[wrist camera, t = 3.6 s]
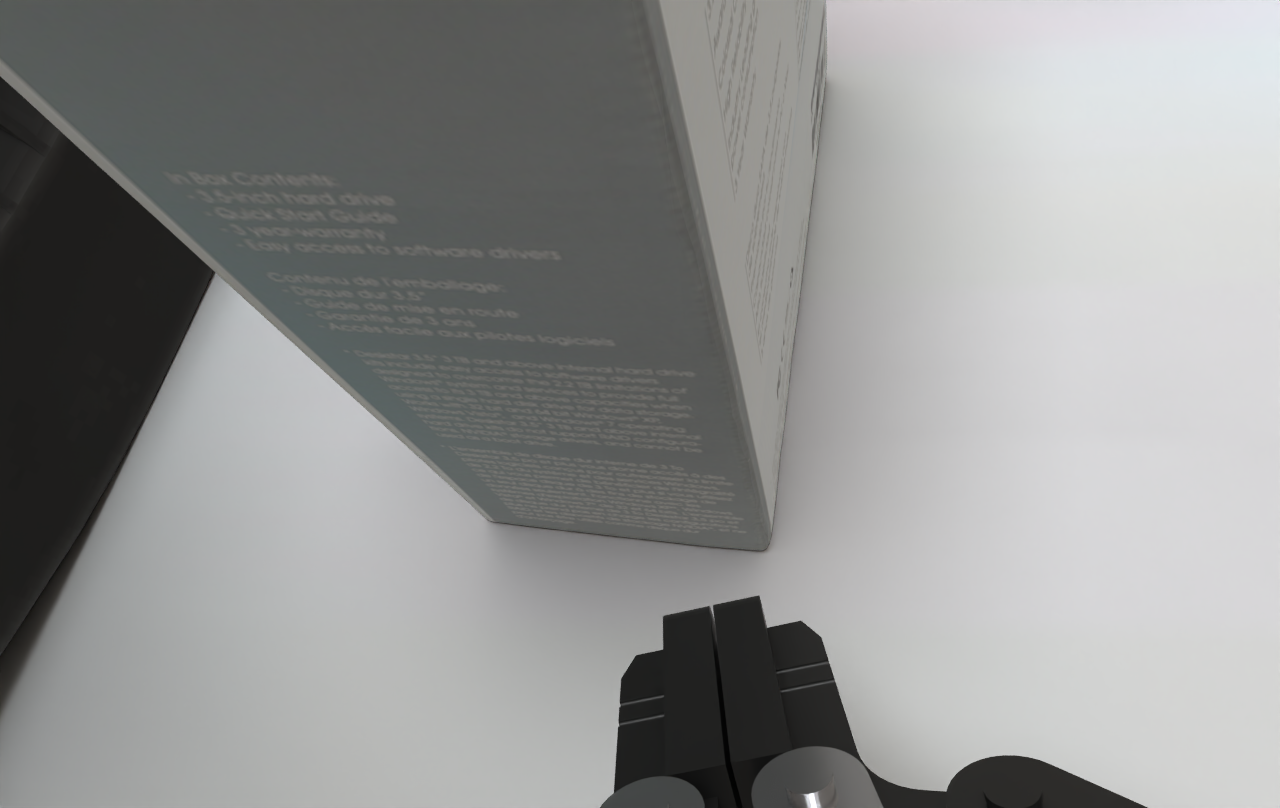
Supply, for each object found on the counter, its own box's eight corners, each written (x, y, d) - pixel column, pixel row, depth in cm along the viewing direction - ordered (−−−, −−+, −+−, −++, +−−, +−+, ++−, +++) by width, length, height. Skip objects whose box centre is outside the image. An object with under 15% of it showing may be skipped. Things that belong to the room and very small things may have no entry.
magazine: (130, -280, 27) (-1998, 516, 8) (220, -290, 26) (-1917, 573, 7) (336, 199, 39) (-288, 969, 20) (403, 203, 39) (-183, 1009, 19)
